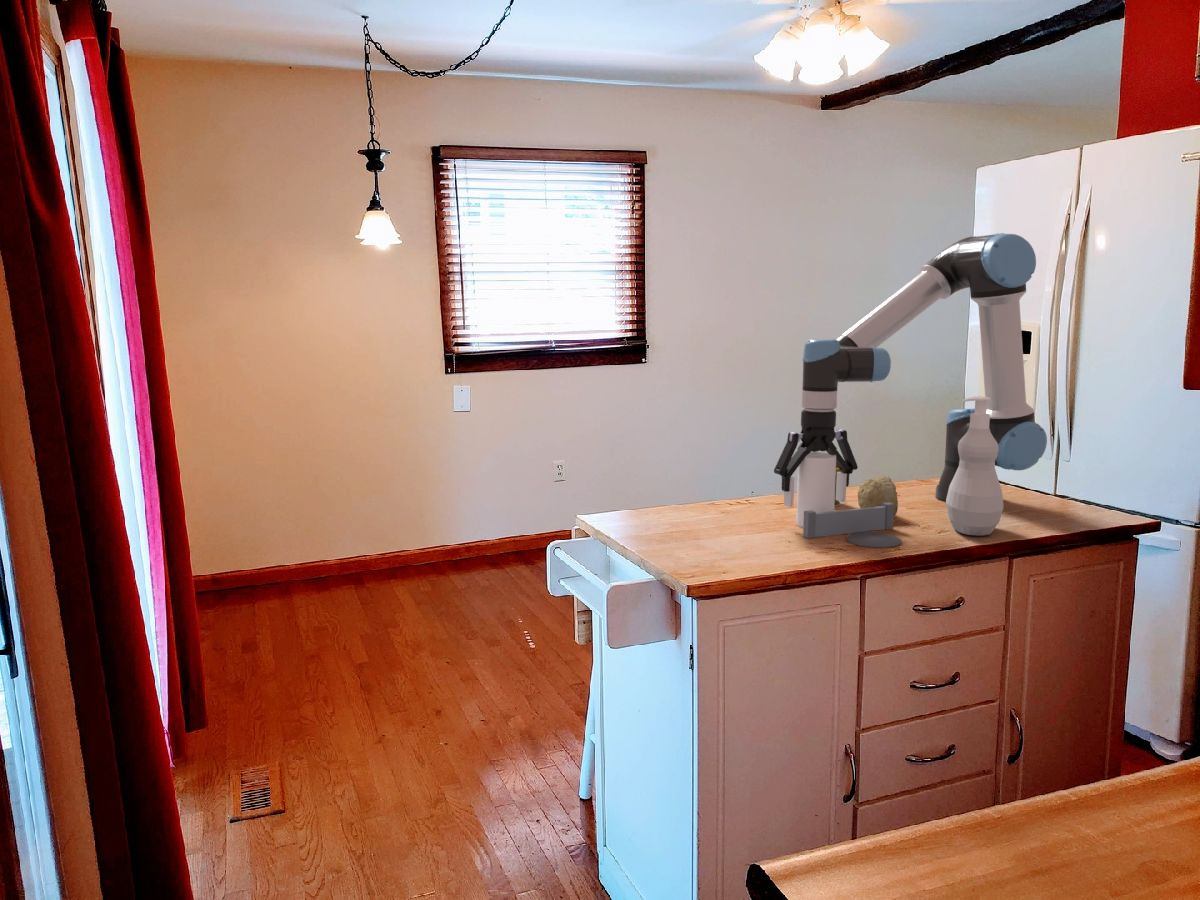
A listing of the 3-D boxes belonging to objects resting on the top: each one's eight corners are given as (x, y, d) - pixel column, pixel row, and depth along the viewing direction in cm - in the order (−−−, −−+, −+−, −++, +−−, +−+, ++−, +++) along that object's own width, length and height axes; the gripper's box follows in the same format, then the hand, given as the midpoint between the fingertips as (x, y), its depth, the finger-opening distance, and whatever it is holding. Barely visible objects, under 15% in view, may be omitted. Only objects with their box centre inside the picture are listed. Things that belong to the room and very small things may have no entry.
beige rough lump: (915, 491, 203) (876, 474, 202) (894, 530, 206) (855, 513, 205) (902, 479, 212) (865, 463, 212) (882, 516, 215) (845, 500, 214)
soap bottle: (941, 520, 205) (948, 392, 200) (995, 523, 202) (1004, 393, 197) (947, 539, 189) (956, 401, 184) (1007, 543, 186) (1017, 402, 181)
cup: (819, 531, 196) (821, 459, 193) (788, 524, 202) (790, 454, 199) (840, 524, 201) (843, 455, 199) (810, 518, 207) (812, 450, 205)
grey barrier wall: (887, 526, 199) (888, 502, 198) (892, 528, 198) (893, 504, 197) (803, 536, 192) (803, 511, 191) (807, 538, 190) (808, 512, 189)
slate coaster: (879, 531, 195) (879, 530, 195) (912, 544, 185) (912, 542, 185) (836, 536, 191) (836, 534, 191) (868, 550, 181) (868, 548, 181)
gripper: (856, 405, 205) (851, 495, 208) (760, 409, 196) (757, 503, 200) (876, 409, 198) (871, 502, 201) (778, 413, 190) (774, 511, 193)
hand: (814, 503), depth 201 cm, fingers open, 13 cm apart
